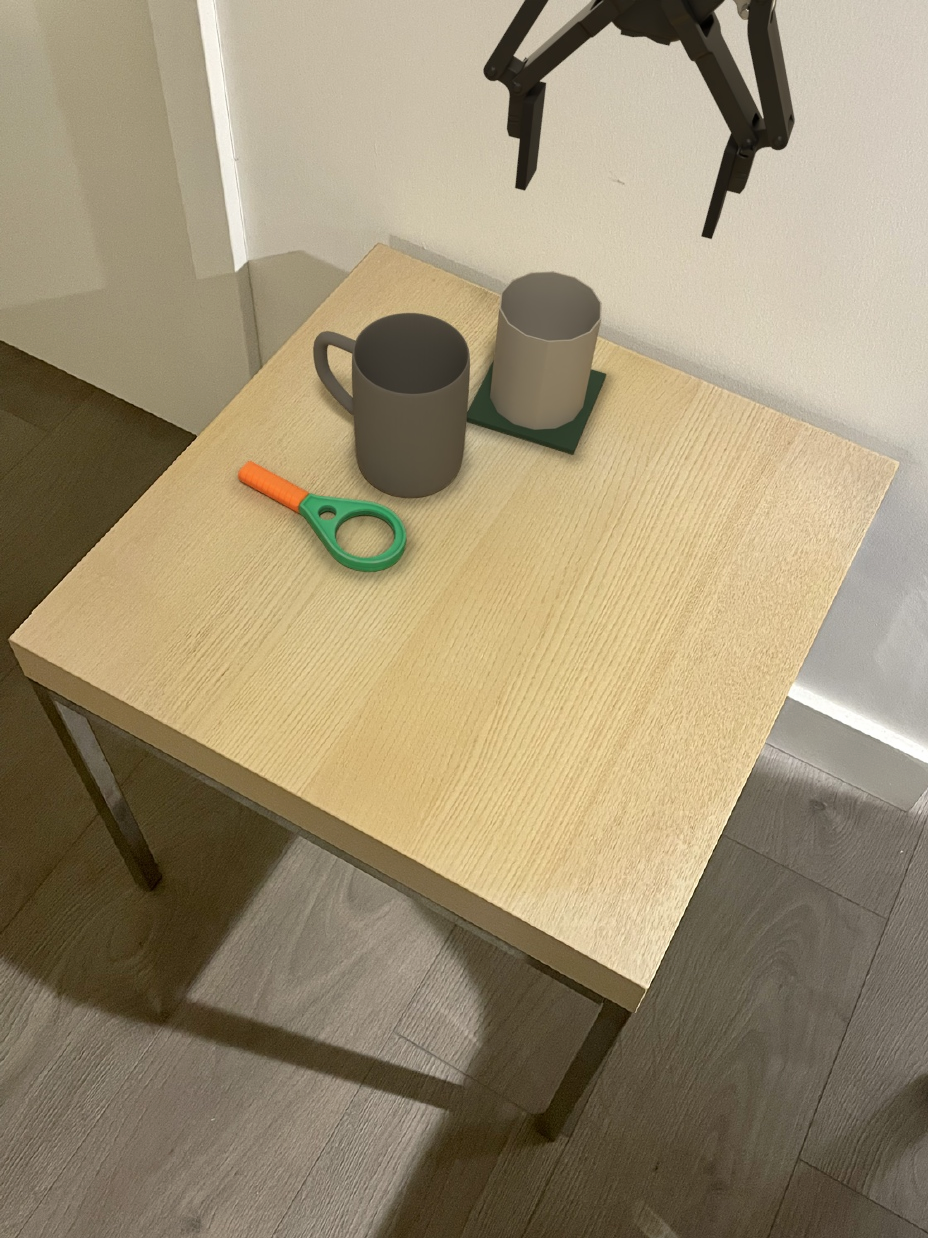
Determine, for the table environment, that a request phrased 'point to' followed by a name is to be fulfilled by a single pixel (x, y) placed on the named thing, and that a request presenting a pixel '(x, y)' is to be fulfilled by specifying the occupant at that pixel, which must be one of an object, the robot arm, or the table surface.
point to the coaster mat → (557, 438)
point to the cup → (544, 349)
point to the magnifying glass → (326, 529)
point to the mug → (404, 400)
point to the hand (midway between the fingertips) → (616, 202)
